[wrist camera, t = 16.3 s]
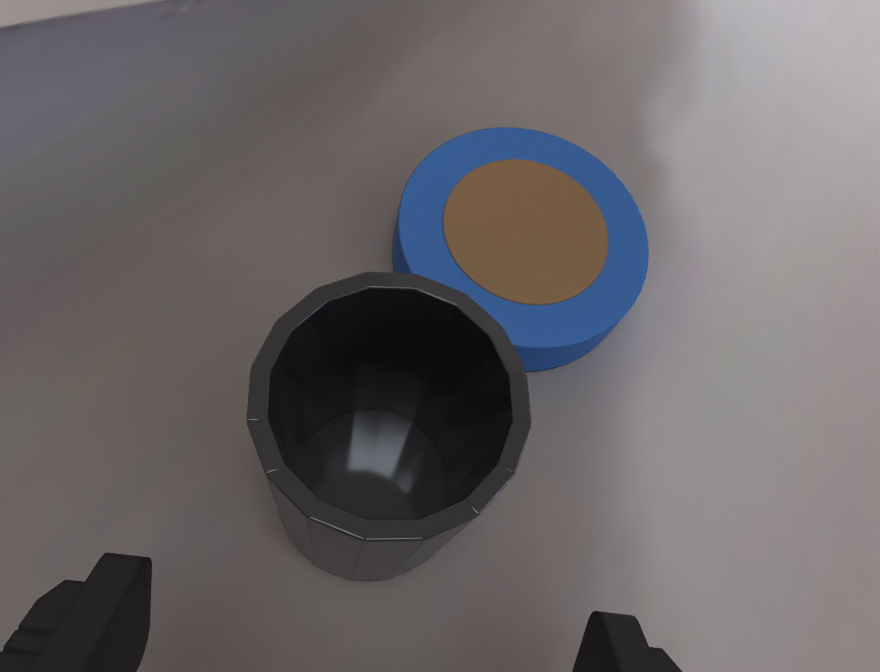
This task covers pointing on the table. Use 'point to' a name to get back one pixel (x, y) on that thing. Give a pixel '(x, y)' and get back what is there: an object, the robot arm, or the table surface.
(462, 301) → the bin
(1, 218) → the table surface
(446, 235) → the tape
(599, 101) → the table surface
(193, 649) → the table surface
